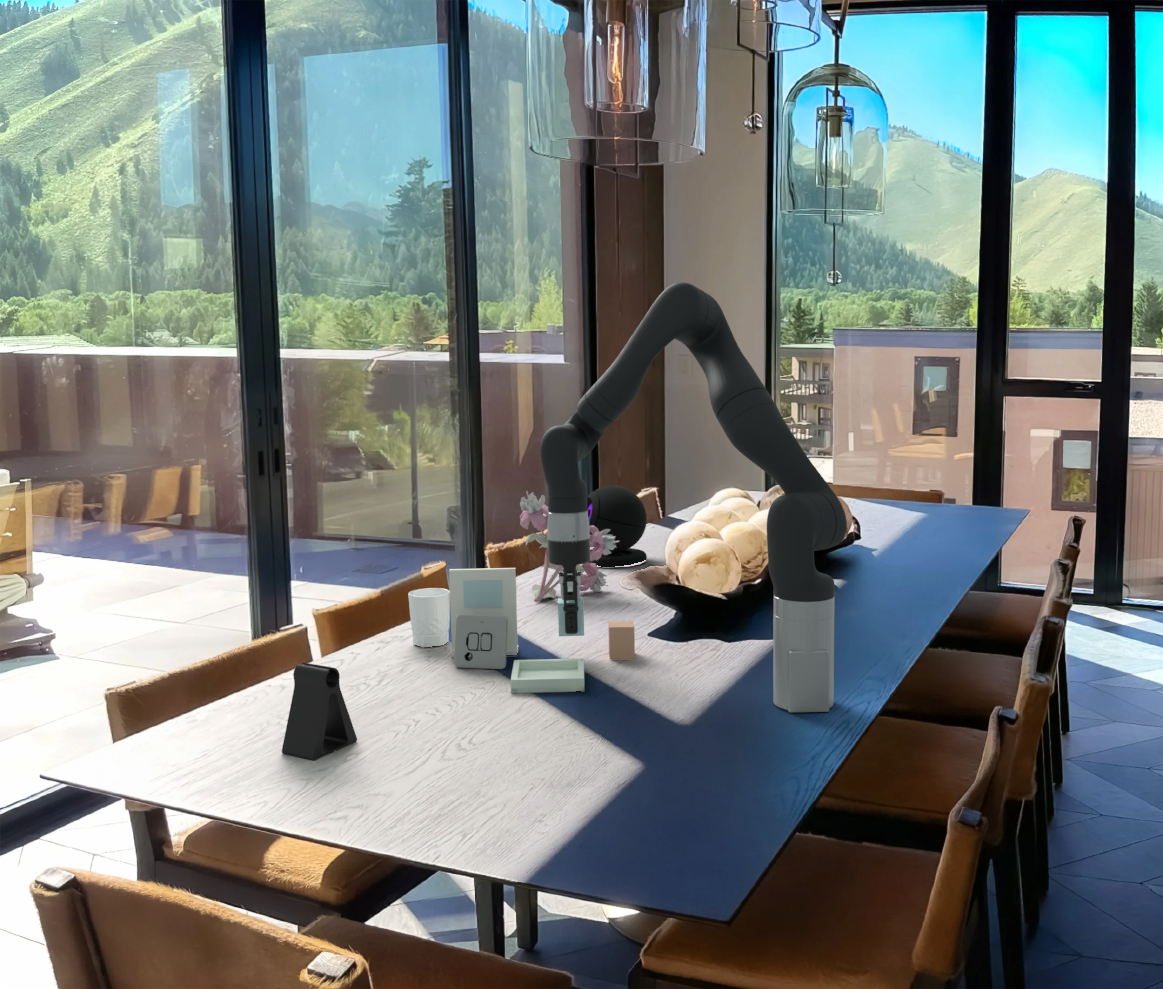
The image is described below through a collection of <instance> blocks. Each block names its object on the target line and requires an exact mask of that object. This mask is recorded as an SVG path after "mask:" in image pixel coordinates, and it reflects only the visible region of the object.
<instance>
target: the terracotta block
mask: <svg viewBox="0 0 1163 989" xmlns="http://www.w3.org/2000/svg"><path fill="white" fill-rule="evenodd" d="M607 624H608V656H609V657H610V658H609V657H608V658H609V660H610V659H631V660H635V659H636V655H635V654H636V653H635V651H636V649H635V646H636V645H635V641H636V640H635V638H636V637H635V624H634V620H623V621H622V620H618V621H617V620H615V621H614V620H613V621H611V620H609V621H608V623H607Z"/></svg>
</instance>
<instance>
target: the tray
mask: <svg viewBox="0 0 1163 989" xmlns="http://www.w3.org/2000/svg"><path fill="white" fill-rule="evenodd" d="M584 663H585V662H584V658H583V657H582V658H554V659H553V658H548V659H547V658H546V659H545V658H544V659H543V658H541V659H540V658H539V659H537V658H536V659H514V660H513V664H512V670H511V675H510V693H511V694H523V693H524V694H525V693H527V694H529V693H534V694H535V693H569V692H570V693H574V692H576V691H581V692H585V664H584Z"/></svg>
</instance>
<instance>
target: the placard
mask: <svg viewBox="0 0 1163 989" xmlns="http://www.w3.org/2000/svg"><path fill="white" fill-rule="evenodd" d="M516 570H517V568H516V567H498V568H497V567H493V568H491V567H490V568H487V567H486V568H450V569H449V570H448V573H449V574H448V575H449V591H450V630H451V631H450V632H451V633H450V634H451V636H450V637H451V654H450V655H451V658H455V640H456V621H457V617H458V616H459V615H484V616H506V617H507V619H508V627H507V648H506V655H517V653H518V654H519V649H518V647H519V644H518V643H519V642H518V641H519V640H518V612H517V611H518V610H517V607H518V605H517V603H518V602H517V574H516ZM517 656H518V655H517ZM468 657H469V658H471V657H472V655H471V654H470V655H469V656H468Z"/></svg>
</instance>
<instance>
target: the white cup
mask: <svg viewBox="0 0 1163 989" xmlns="http://www.w3.org/2000/svg"><path fill="white" fill-rule="evenodd" d="M407 595H408V603H409V604H408V608H409V618H410V625H411V628H410V630H411V632H412V640H413V646H415V645H417V646H421V647H420V648H424V647H431V648H433V647H432V646H440V645H443V644H446V643H447V642H449V641H450V640H449V639H450V637H449V633H450V632H449V631H450V624H451V608H450V589H446V588H440V587H427V588H418V589H413V590H411V591H409V592H408V594H407ZM447 644H448V643H447ZM447 644H446V645H447ZM417 646H416V647H417ZM443 646H444V645H443ZM440 647H441V646H440Z"/></svg>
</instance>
